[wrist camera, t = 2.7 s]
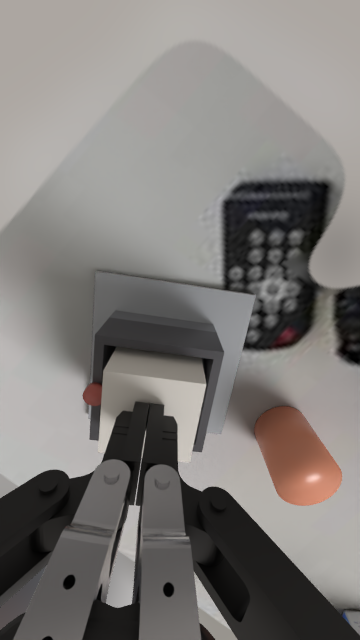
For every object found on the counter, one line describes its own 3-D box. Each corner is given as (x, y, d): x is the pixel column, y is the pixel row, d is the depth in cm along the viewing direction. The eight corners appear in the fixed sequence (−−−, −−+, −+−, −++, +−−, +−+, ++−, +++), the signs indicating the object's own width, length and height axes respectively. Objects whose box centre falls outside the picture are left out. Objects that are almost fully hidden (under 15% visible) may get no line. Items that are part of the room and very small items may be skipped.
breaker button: (201, 356, 15) (206, 384, 12) (187, 424, 17) (189, 462, 14) (117, 345, 15) (103, 371, 12) (111, 415, 17) (97, 452, 14)
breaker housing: (254, 294, 18) (285, 318, 13) (220, 431, 22) (233, 492, 17) (97, 270, 17) (62, 286, 12) (89, 415, 21) (61, 474, 16)
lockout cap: (313, 409, 21) (351, 460, 16) (297, 450, 23) (329, 508, 18) (261, 403, 21) (285, 452, 16) (248, 445, 22) (267, 502, 18)
